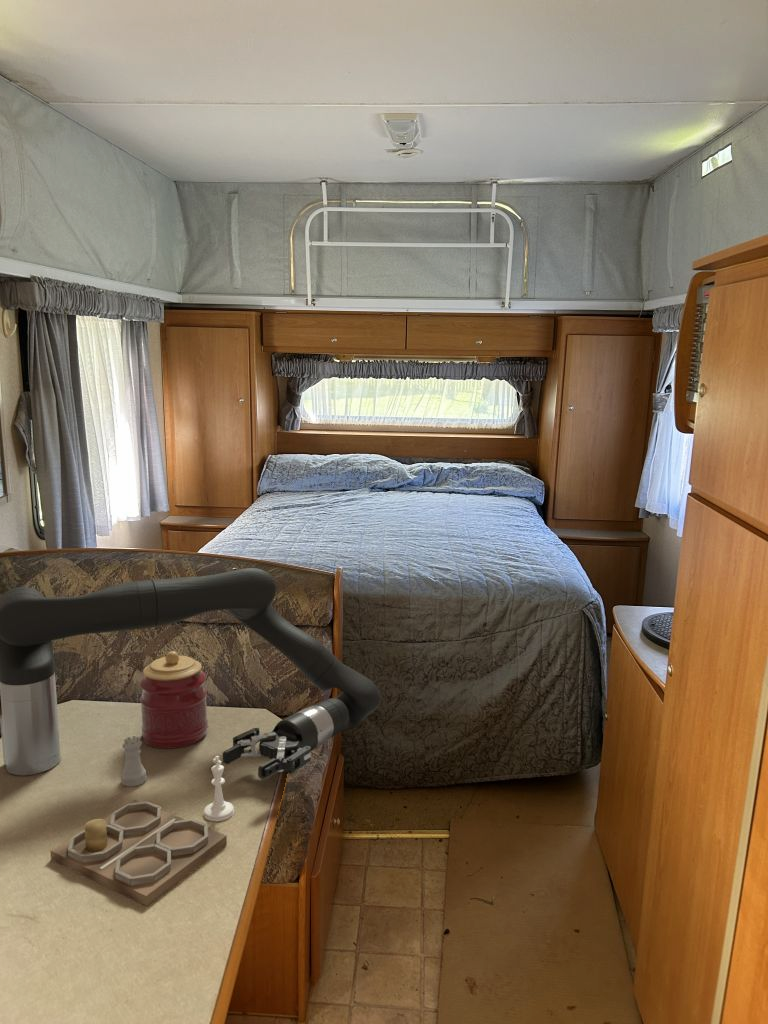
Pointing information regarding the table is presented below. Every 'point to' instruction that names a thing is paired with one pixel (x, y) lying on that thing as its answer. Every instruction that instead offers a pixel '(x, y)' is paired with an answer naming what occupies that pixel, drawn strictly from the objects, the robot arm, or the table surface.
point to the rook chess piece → (133, 763)
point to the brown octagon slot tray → (139, 850)
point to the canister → (173, 702)
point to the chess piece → (218, 797)
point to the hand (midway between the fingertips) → (241, 766)
